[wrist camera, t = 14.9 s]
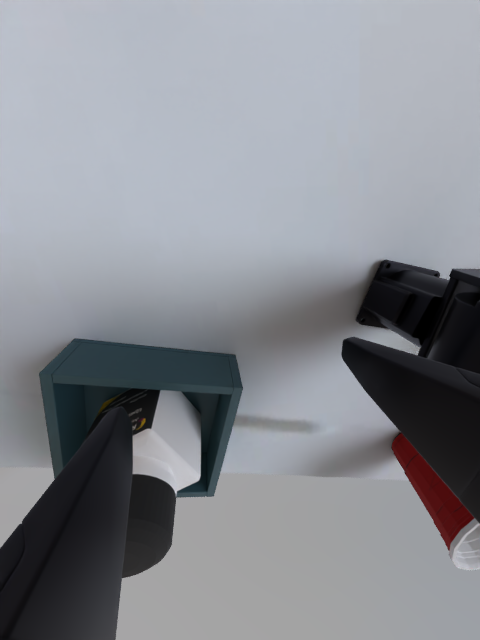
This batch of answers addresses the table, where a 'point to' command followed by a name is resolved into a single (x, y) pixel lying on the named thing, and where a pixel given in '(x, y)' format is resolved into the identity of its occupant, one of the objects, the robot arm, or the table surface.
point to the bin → (142, 373)
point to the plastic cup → (441, 506)
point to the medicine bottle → (156, 468)
